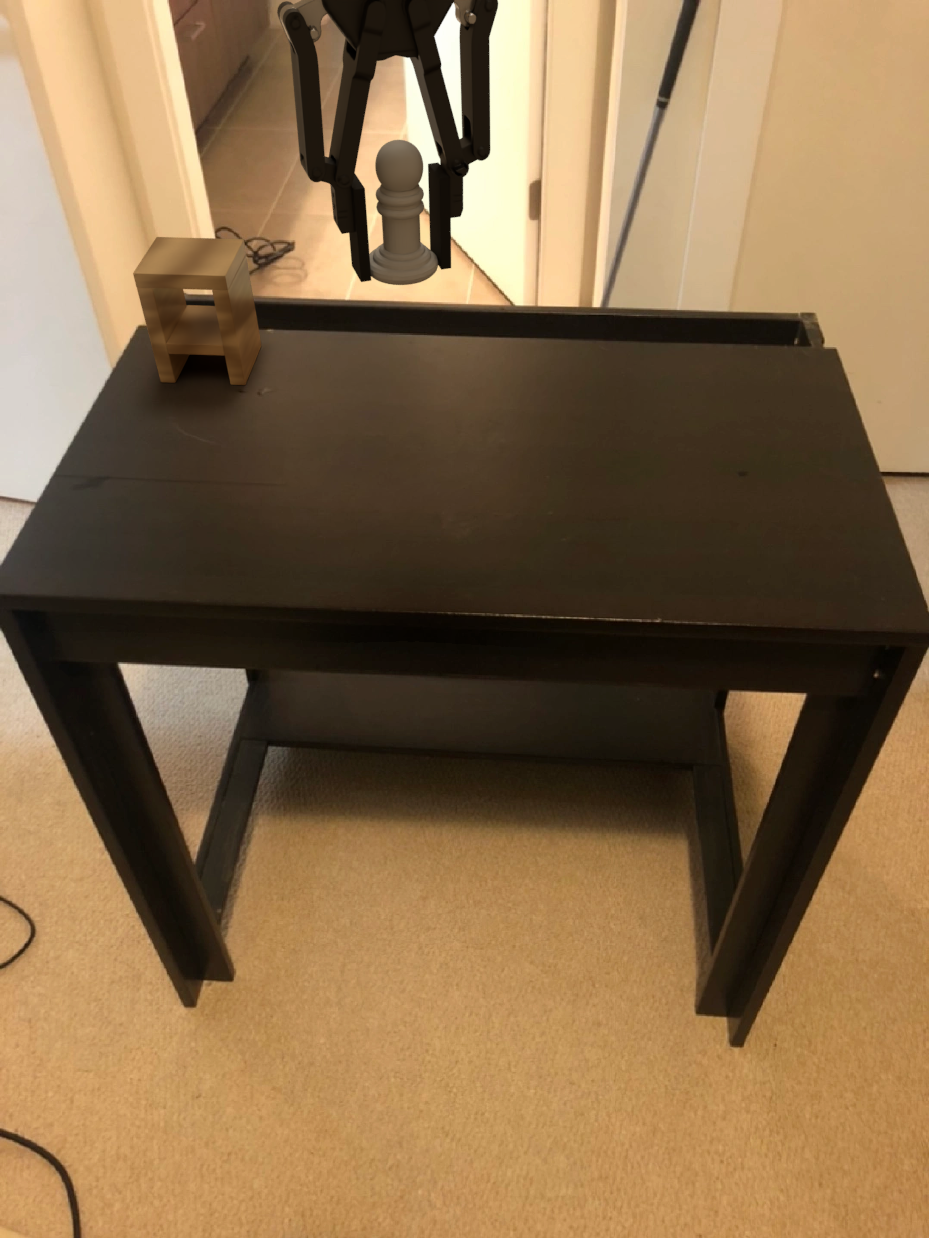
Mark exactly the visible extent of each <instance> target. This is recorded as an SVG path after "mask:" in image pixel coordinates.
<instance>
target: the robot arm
mask: <svg viewBox="0 0 929 1238" xmlns="http://www.w3.org/2000/svg"><path fill="white" fill-rule="evenodd" d="M453 5H454V8H455V9H454V10H455V11H454V16H455V19H456V20H457V22H459V24H460V25H459V37H458V38H459V68H460V70H459V71H460V73H459V74H460V105H461V107H460V108H461V138H460V135H459V132H458V128H457V124H456V121H455V116H454V113H453V109H452V105H451V102H450V98H449V93H448V89H447V87H446V83H445V78H444V75H443V71H442V60H441V56H440V52H439V47H438V45H437V41H436V38H435V37H436V34H437V33H438V31H439V29H440V28H441V25H442V23H443V22H444V20H445V18H446V17H447V15H448V13H449V11H450V9H451V7H452V6H453ZM498 8H499V0H300V1H298V2H295V3H292V2H291V1H288V0H286V1H285V0H284V1H282V2H281V3H279V5H278V7H277V11H276V13H277V17H278V20H279V22H280V25H281V27H282V30H283V32H284V34H285V37H286V40H287V42H288V43H289V47H290V50H289V51H290V61H291V71H292V72H291V73H292V84H293V97H294V107H295V118H296V130H297V142H298V154H299V162H300V165H301V166H302V169H303V170H304V172H305V174H306V175H307V177H308V179H309V180H310V181H312V182H313V183H320V182H323V183H326V184H329V185H330V197H331V205H332V207H331V208H332V217H333V218H332V219H333V221H334V222H335V225H336V227H337V228H338V230H339V231H340V233H341V235H343V234H344V235H345V234H348V237H349V248H350V260H351V261H350V262H351V267H352V269H353V270H354V272H355V274H356V276H357V278H358V279H359V281H360V282H361V283H365V282H371V281H372V277H371V269H370V255H369V254H370V243H369V241H370V240H369V230H368V229H369V228H368V214H367V199H366V188H365V186H364V185H363V183H362V182H361V181H360V179H359V177H358V175H357V174H356V167H357V162H358V157H359V156H358V155H359V151H360V145H361V139H362V133H363V127H364V122H365V117H366V111H367V106H368V100H369V93H370V88H371V83H372V80H373V79H374V78H375V74H376V68H377V65H378V64H377V63H378V62H382V61H386V60H388V59H390V58H392V57H395V56H397V57H401V58H407V59H410V61H411V64H412V66H413V70H414V74H415V77H416V81H417V85H418V88H419V91H420V96H421V99H422V102H423V106H424V110H425V113H426V117H427V120H428V124H429V128H430V131H431V135H432V138H433V142H434V145H435V149H436V152H437V156H438V158H439V162H440V163H439V162H431V163H427V177H428V178H427V179H428V180H427V181H428V208H429V210H428V212H429V213H428V218H429V219H428V220H429V247H430V248H429V249H430V250H431V251H432V252H433V253H434V254H435V255H436V256H437V259H438V268H439V269H440V270H448V269H452V223H451V221H452V220H451V219H453V218H454V219H455V218H461V216H462V213H463V212H464V177H466V176H467V175H468V173H469V170H470V165H471V164H473V163H474V162H476V161H479V162H480V161H481V162H482V161H485V160H486V159H488V158H489V157H490V154H491V75H490V74H491V71H490V70H491V69H490V68H491V67H490V66H491V65H490V64H491V63H490V60H491V59H490V58H491V56H490V37H491V33H492V31H493V30H492V29H493V26H494V23H495V18H496V15H497V12H498V10H499V9H498ZM326 15H328V17H329V18H330V20H331V21H332V22H333V24H334V25H335V26H336V27H337V29H338V30H339V32H340V33H341V34H342V35H343V37H344V43H343V45H344V46H343V50H342V70H341V77H340V82H339V83H340V84H339V89H338V97H337V103H336V109H335V115H334V121H333V128H332V134H331V140H330V146H329V151H328V156H325V155H326V154H325V153H326V152H325V140H324V127H323V112H322V111H323V110H322V98H321V96H322V95H321V85H320V83H321V82H320V68H319V58H318V53H317V49H316V45H315V43H316V42H318V41H319V40H320V38H321V36H322V20H323V18H324V17H325V16H326Z"/></svg>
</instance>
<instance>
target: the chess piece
mask: <svg viewBox="0 0 929 1238" xmlns="http://www.w3.org/2000/svg"><path fill="white" fill-rule="evenodd" d="M374 167H375V169H374V170H375V175H376V177H377V180H378V182H379V183H380V185H379V187H378V188H377V189H376V191H375V198H376V200H377V203H376V211H377V213H378V214H379V215H380V216H381V226H382V227H381V228H382V229H381V230H382V244H381V243H380V245H378V246H377V247H376V248H375V249H373V250H372V251H371V252H369V255H370V269H371V278H372V279H374V280H376V281H378V282H379V283H383V284H387V285H393V286H409V285H413V284H419V283H422V282H424V281H427V280H429V279H430V278H431V277H432V276H433V275H435V273H436V272H437V271H438V270H437V269H438V268H439V265H438V259H437V256H436V255H435V254H434V253H433V252H432V251H431V250H430V248H429V247H428V246H426V245H425V244H424V243H423V242H421V218H420V217H421V216H420V215H421V214H422V213H423V212H424V210H425V204H424V201H423V199H424V195H425V192H424V189H423V188H422V187H421V186H420V182H421V180H422V177H423V173H424V160H423V156H422V154H421V152H420V150H419V149H418V148H417V147H416V145H415V144H413V143H412V142H410V141H409V140H405V139H393V140H390V141H388V142H386V143H384V144H382V146H381V147H380V148H379V150H378V152H377V154H376V157H375V164H374Z"/></svg>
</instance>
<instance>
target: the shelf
mask: <svg viewBox="0 0 929 1238" xmlns="http://www.w3.org/2000/svg"><path fill="white" fill-rule="evenodd" d="M248 262H249V261H248V257H247V249H246V243H245V238H217V237H216V238H212V237H210V238H209V237H206V238H205V237H179V236H178V237H173V236H156V238H154V240H153V242H152V243H151V245H150V246H149V247H148V250H146V252H145V254H144V256H143V257H142V259H141V260H140V262H139V263H138V265H137V266H136V268H135V270H133V272H132V276H133V279H134V283H135V287H136V290H137V294H138V298H139V299H138V300H139V302H140V307H141V310H142V314H143V318H144V321H145V326H146V329H147V333H148V338H149V342H150V344H151V349H152V353H153V357H154V361H155V366H156V368H157V373H158V376H159V381H160V383H170V384H171V383H172V384H175V383H176V382H177V381H178V379H179V377H180V374H181V373H182V371H183V369H184V366H185V365H186V363H187V361H188V358H189V357H190V355H191V356H192V355H193V356H195V355H197V356H224V358H225V363H226V369H227V373H228V378H229V383H230V385H232V386H233V385H234V386H246V385H247V382H248V379H249V377H250V375H251V373H252V370H253V367H254V365H255V362H256V360H257V358H258V355H259V353H260V350H261V348H262V341H261V336H260V328H259V323H258V316H257V311H256V304H255V299H254V293H253V292H254V291H253V286H252V281H251V275H250V268H249V263H248ZM184 290H198V291H199V290H200V291H201V290H203V291H211V293H212V297H213V303H214V305H197V304H196V305H194V304H187V301H186V296H185V292H184Z"/></svg>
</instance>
